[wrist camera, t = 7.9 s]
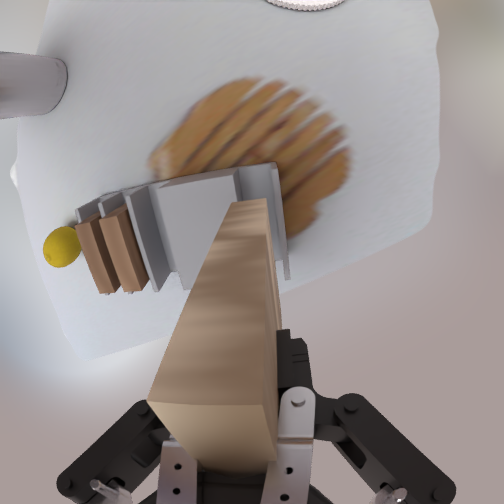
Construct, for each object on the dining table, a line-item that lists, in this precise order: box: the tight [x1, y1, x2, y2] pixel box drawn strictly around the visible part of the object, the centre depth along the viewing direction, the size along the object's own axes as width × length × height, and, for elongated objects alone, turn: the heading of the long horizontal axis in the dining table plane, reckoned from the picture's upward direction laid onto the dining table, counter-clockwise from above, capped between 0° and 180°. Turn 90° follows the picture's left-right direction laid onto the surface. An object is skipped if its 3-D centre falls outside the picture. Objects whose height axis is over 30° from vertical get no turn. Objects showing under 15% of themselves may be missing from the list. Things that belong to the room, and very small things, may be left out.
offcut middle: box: [99, 203, 150, 292], centre depth 31 cm, size 2×9×7 cm, turn 9°
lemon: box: [43, 226, 82, 268], centre depth 33 cm, size 6×6×8 cm
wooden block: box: [146, 198, 282, 479], centre depth 14 cm, size 2×10×16 cm, turn 8°
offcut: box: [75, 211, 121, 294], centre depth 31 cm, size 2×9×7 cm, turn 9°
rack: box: [75, 162, 291, 295], centre depth 32 cm, size 24×12×6 cm, turn 99°
